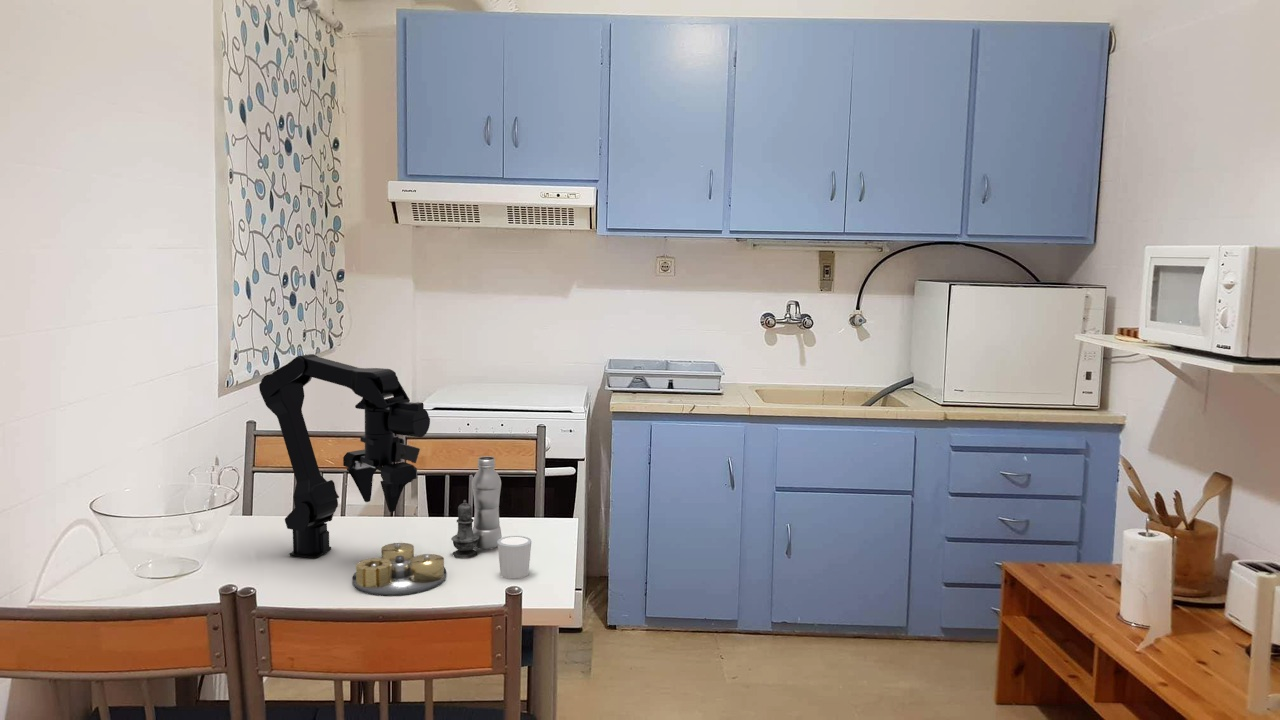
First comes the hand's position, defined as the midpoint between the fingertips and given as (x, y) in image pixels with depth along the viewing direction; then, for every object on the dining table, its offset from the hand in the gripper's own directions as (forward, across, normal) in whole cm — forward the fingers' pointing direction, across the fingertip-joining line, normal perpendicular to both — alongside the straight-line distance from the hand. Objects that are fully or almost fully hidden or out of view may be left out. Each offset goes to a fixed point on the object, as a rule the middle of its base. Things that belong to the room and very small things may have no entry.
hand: (379, 506), depth 193 cm
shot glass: (+12, -23, -16) cm, 31 cm away
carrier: (+12, -10, +2) cm, 16 cm away
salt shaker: (+12, -7, -17) cm, 22 cm away
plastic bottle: (+12, -6, -22) cm, 26 cm away
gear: (+11, -10, +7) cm, 17 cm away
